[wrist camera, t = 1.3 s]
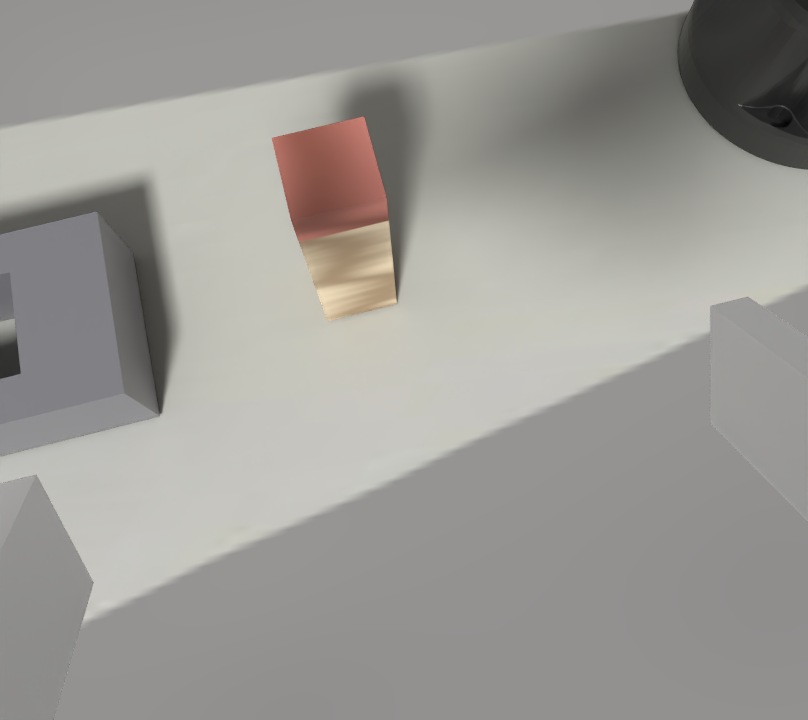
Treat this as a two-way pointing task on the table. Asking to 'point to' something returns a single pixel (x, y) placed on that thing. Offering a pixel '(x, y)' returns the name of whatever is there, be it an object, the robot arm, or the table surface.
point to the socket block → (72, 334)
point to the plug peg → (339, 215)
